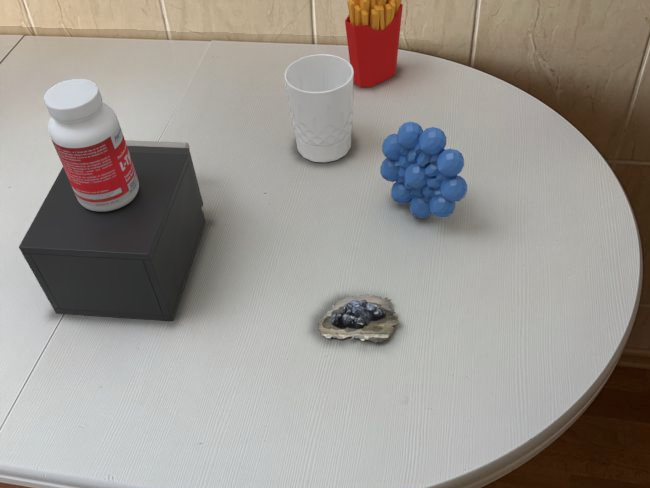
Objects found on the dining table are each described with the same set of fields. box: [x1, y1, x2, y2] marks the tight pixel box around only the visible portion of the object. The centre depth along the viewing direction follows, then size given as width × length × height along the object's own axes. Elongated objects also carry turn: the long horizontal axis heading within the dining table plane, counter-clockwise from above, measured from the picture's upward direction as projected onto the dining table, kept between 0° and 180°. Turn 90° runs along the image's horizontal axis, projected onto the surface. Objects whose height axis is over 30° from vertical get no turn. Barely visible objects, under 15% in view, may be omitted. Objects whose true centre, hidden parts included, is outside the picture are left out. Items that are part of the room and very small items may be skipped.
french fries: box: [344, 0, 404, 88], centre depth 92 cm, size 8×4×12 cm, turn 128°
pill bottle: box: [43, 78, 139, 212], centre depth 65 cm, size 6×6×11 cm
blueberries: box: [317, 294, 400, 344], centre depth 69 cm, size 7×8×2 cm
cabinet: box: [18, 151, 207, 322], centre depth 73 cm, size 15×13×10 cm
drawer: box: [125, 139, 204, 207], centre depth 76 cm, size 18×11×8 cm, turn 173°
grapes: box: [379, 121, 468, 219], centre depth 75 cm, size 12×7×12 cm, turn 43°
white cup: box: [283, 53, 354, 163], centre depth 84 cm, size 8×8×10 cm
